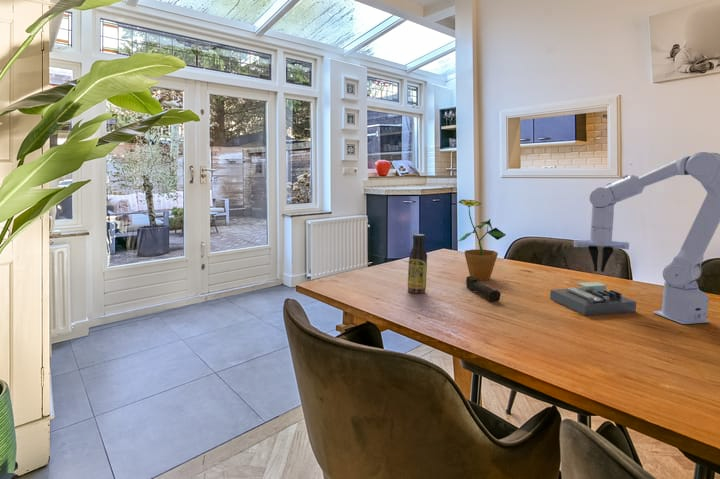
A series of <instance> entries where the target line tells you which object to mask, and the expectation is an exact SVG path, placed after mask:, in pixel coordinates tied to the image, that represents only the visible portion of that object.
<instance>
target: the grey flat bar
mask: <svg viewBox="0 0 720 479" xmlns="http://www.w3.org/2000/svg"><path fill="white" fill-rule="evenodd" d="M577 288H578V287H566V288H565V289H566V290H567V291H570V292H572V293H574V294H577V295H579V296H581V297H584V298H586V299H587V297H592V298H594V302H603V301H604V299H603V298H600V297H597V296H595V295H592V294H590V293H587V292H585V291H582V290H580V289H577Z"/></svg>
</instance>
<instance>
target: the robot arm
mask: <svg viewBox="0 0 720 479" xmlns="http://www.w3.org/2000/svg"><path fill="white" fill-rule="evenodd" d="M675 176H691V177H692V178H693V179H696V180H697V181H698V182H699V183H700V184H701V186H702V187H703V188H704V190H705V191H706V195H705V197H704V200H703V201H702V203H701V206H700V208H699V210H698V212H697V214H696V217H695V219H694V221H693V223H692V224H691V226H690V228H689V231H688V233H687V236H686V237H685V240H684V241H683V244H682V246H681V248H680V250H679V251H678V252H677V253H676V254H675V256H674V257H673V259H672V261H671V262H670V263H669V264H668V265H666V266H664V268H663V271H662V277H663V280H664V283H663V293H662V301H661V302H662V305H661V310H654V311H653V314H655V315H658V316H660V317H663V318H666V319H668V320H671V321H674V322H676V323H678V324H681V325H690V324H691V325H692V324H693V325H695V324H704V323H709V322H710V321H709V319H707V318H708V311H709V310H708V308H709V304H710V302H709V299H710V298H709V296H708V294H707V293H706V292H704V291H702V290H700V288H699V284H698V282H697V281H696V280H697V279H699V278H701V277H700V276H701V275H702V263H703V261H704V255H705V253H706V250H707V248H708V246H709V245H710V242H711V240H712V239H713V236H714V235H715V233H716V230H717V229H718V227H719V224H720V153H718V152H708V151H702V152H701V151H700V152H696V153H694V154H692V155H688V156H685V157H681V158H679V159H675V160H673V161H672V162H669V163H667V164H664V165H662V166H660V167H657V168H656V169H653V170H651V171H649V172H648V173H645V174H642V175H640V176H638V175H633V174H632V175H629V174H626V175H623V176H621V179H619V180H617V181H615V182H613V183H611V182H608V183H606V184H605V187H603V186H602V187H600V186H599V187H597V188H595V189H594V190H593V191H591V192H590V195H589V201H590V204H591V205H592V207H591V208H592V209H591V210H592V211H591V223H590V239H587V240H585V239H580V240H579V239H574V240H573V247H574V248H587V249H588V253H589V254H590V257H591V259H592V260H591V261H592V264H593V272H598V258H599V257H598V256H599V248H600V249H601V262H600V272H601V273H604V272H605V268H606V266H607V263H608V261H609V259H610V257H611V256H612V254H613V253H614V249H619V250H629V248H630V242H628V241H616V240H613V230H614V227H613V226H614V217H615V216H614V215H615V214H614V213H615V212H614V210H615V205H616V204H617V203H619V202H622V201H624V200H627V199H629V198H632V197H634V196H635V197H636V196H637V195H641V194H642V193H643V191H644V189H645V188H646V187H647V186H651V185H654V184H655V183H659V182H662V181H664V180H667V179H671V178H672V177H675Z"/></svg>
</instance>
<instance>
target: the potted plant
mask: <svg viewBox="0 0 720 479" xmlns="http://www.w3.org/2000/svg"><path fill="white" fill-rule="evenodd" d="M458 203H459V204H462V205H464V206H467V207H468V216H469V221H470V223H471V226H472V227H473V231H471V232H468V233H465V235H463V236H462V237H461V238H460V239H458V240H457V242H461V241H464V240H466V239H467V238H468V237H469V236H471V235H472V234H475V236H476V238H477V240H478V247H479V249H467V250H464V257H465V260H466V265H467V269H468V274H469V276H472V277H474V278H476V279H478V281H487V280H490V279H491V276H492V273H493V270H494V268H495V264H496V261H497V259H498V255H499V252H498V251H495V250H489V249H483V246H482V243H481V241H482V240H483V238H484V237H485V236H487V234H488V235H490V236H491V237H492V238H494V239H495V240H496V241H498V240H500V239H502V238H504V237H506V235H507V234H506V233H504V232H503V231H502V230H500V229H498V228H497V227H492V224H491V218H489V219H488V220H486V221H481V222H480V224H478V225H475V226H474V224H473V220H472V216H471V209H470V208H471V207H478V206H480V205H481V204H482V202H479V201H477V200H474V199H473V200H472V199H471V200H470V199H461V200H459V201H458ZM485 225H487V229H486V232H485V233H484V235H482V236H481V238H479V235H478V231H477V230H476V229H477V228H478V229H482V227H484V226H485ZM489 228H490V229H491V230H489Z"/></svg>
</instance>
